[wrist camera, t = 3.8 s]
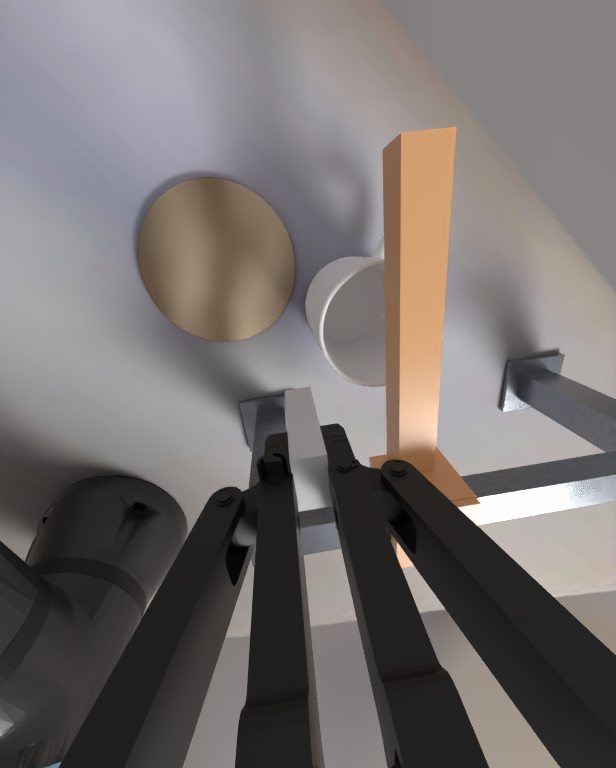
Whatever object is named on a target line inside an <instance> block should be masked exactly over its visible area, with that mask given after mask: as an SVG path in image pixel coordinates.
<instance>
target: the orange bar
mask: <svg viewBox="0 0 616 768" xmlns="http://www.w3.org/2000/svg"><path fill="white" fill-rule="evenodd" d="M455 141H456V127H449V128H440V129H431V130H422V131H413V132H404V133H400V134H399V135H398V136H397V137H396V138H395V139H394V140H393V141H392V142H391V143H389V144H388V145H387V146H386V147H385V148H384V149H383V202H384V274H385V346H386V418H387V455H381V456H375V457H370V467H371V468H379V469H381V466H382V465H383V463H385V462H386V461H388V460H393V459H399V460H404V461H407V462H409V463H410V464H412V465H413V466H414V467H415V468H416V469H417V470H418V471H419V472H420V473H421V474H423V475H424V476H425V477H426V478H427V479H428V480H429V481H430V482H431V483H432V484H433V485H434V486H435V487H436V488H437V489H439V490H440V491H441V492H442V493H443V494H444V495H445V496H446V497H447V498H448V499H449V500H450V501H451V502H452V503H453V504H455V505H456V506H457V507H458V508H459V509H460V510H461V511H462V512H463V513H464V514H465V515H466V516H467V517H468V518H469V519H471V520H472V521H473V522H474V523H475V524H476V525H477V526H478V523H479V516H480V509H481V502H480V501H479V500H478V499H477V498H476V495H475V494H474V492H473V491H472V490H471V489H470V488H469V486H468V485H467V484H466V483H465V481H464V480H463V479H462V478H461V477H460V475H459V474H458V473H457V472H456V470H455V469H454V468H453V467H452V466H451V464H450V463H449V462H448V461H447V460H446V458H445V457H444V456H443V455H442V453H441V452H440V451H439V450H438V449H437V447H436V436H437V420H438V405H439V389H440V374H441V358H442V343H443V327H444V312H445V296H446V281H447V265H448V250H449V234H450V218H451V203H452V187H453V172H454V156H455ZM391 543H392V545H393V548H394V550H395V553H396V555H397V558H398V560H399V563H400V566H401V568H405V567H411V566H414V565H413V563H412V562H411V560H410V559H409V558H408V556H407V555H406V554H405V552H404V551H403V549H402V548H401V547H400V545H399V544H398V543H397V541H396V540H395V538H394V537H393V536H392V534H391Z"/></svg>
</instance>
